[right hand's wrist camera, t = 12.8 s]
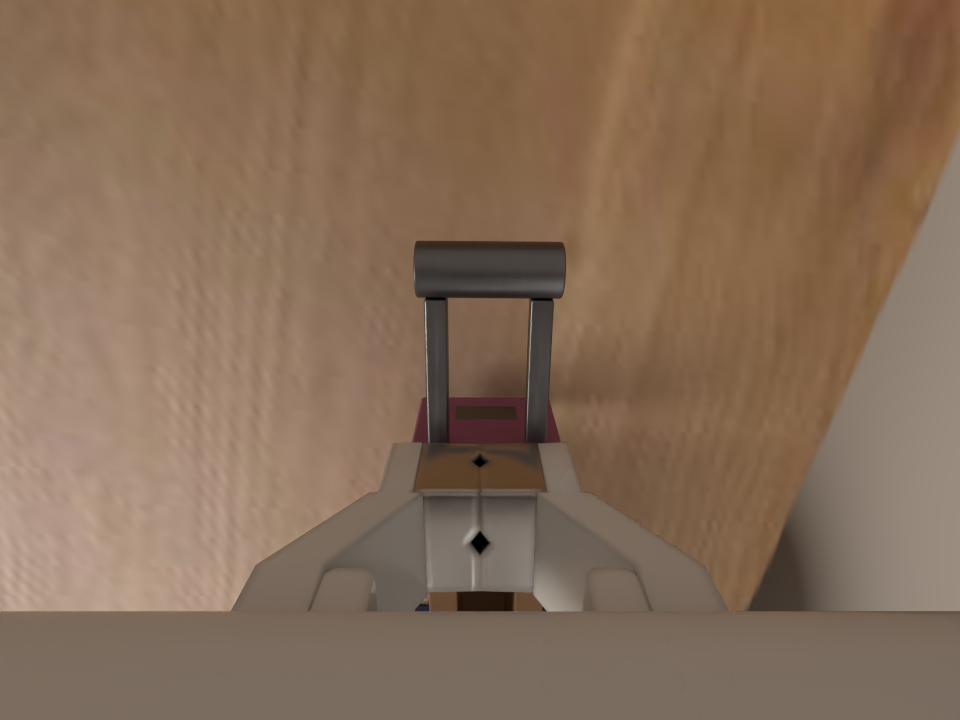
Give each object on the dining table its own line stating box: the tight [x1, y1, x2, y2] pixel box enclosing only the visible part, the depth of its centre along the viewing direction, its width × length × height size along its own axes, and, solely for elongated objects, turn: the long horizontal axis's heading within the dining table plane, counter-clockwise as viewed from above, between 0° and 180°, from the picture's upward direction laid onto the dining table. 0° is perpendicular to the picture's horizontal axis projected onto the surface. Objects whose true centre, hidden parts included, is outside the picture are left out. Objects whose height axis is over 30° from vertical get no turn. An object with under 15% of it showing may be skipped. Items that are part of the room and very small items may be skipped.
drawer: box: [412, 241, 566, 611], centre depth 20 cm, size 24×4×6 cm, turn 0°
